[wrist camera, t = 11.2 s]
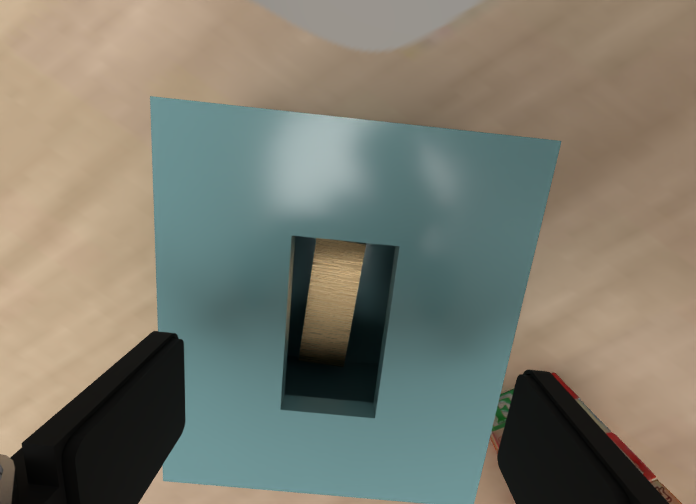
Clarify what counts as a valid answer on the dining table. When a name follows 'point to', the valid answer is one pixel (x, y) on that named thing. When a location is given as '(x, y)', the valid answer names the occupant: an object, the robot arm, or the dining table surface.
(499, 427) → the stack of blocks
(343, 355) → the tan flat block
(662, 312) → the dining table surface
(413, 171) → the coin box
